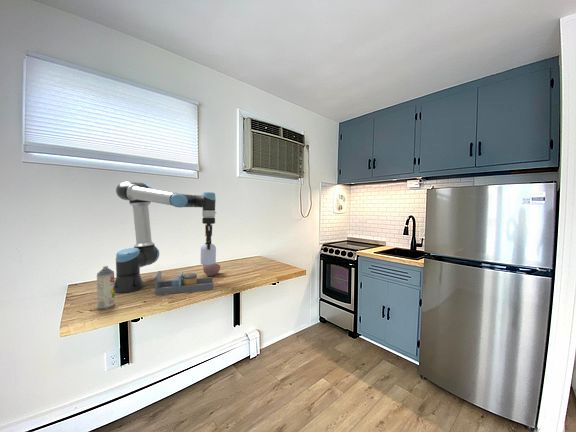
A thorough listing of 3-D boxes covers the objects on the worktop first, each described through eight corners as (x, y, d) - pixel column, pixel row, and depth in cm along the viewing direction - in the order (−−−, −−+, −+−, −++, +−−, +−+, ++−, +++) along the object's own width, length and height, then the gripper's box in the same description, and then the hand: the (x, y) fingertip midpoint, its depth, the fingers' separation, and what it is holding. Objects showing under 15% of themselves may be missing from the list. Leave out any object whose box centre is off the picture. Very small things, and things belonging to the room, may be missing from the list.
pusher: (171, 292, 134) (171, 276, 134) (173, 286, 144) (173, 271, 144) (180, 291, 136) (180, 276, 136) (182, 285, 146) (182, 271, 146)
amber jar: (181, 291, 137) (181, 277, 137) (183, 286, 145) (183, 273, 145) (196, 289, 140) (196, 276, 140) (197, 285, 148) (197, 272, 148)
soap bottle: (200, 265, 140) (200, 224, 139) (201, 261, 149) (201, 223, 148) (215, 264, 143) (216, 225, 142) (215, 261, 152) (216, 223, 150)
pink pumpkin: (222, 273, 174) (222, 258, 173) (216, 278, 162) (216, 262, 161) (207, 272, 175) (207, 257, 174) (199, 277, 163) (199, 261, 163)
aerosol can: (113, 307, 114) (113, 267, 113) (95, 310, 111) (95, 268, 110) (115, 302, 120) (115, 264, 119) (98, 304, 116) (98, 265, 116)
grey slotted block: (154, 295, 130) (154, 277, 130) (159, 287, 143) (159, 271, 142) (213, 289, 141) (213, 272, 141) (212, 282, 153) (212, 267, 153)
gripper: (216, 218, 136) (215, 256, 137) (214, 216, 156) (213, 249, 157) (202, 218, 133) (201, 257, 134) (202, 216, 153) (201, 249, 154)
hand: (208, 253), depth 146 cm, fingers closed on soap bottle, 9 cm apart
